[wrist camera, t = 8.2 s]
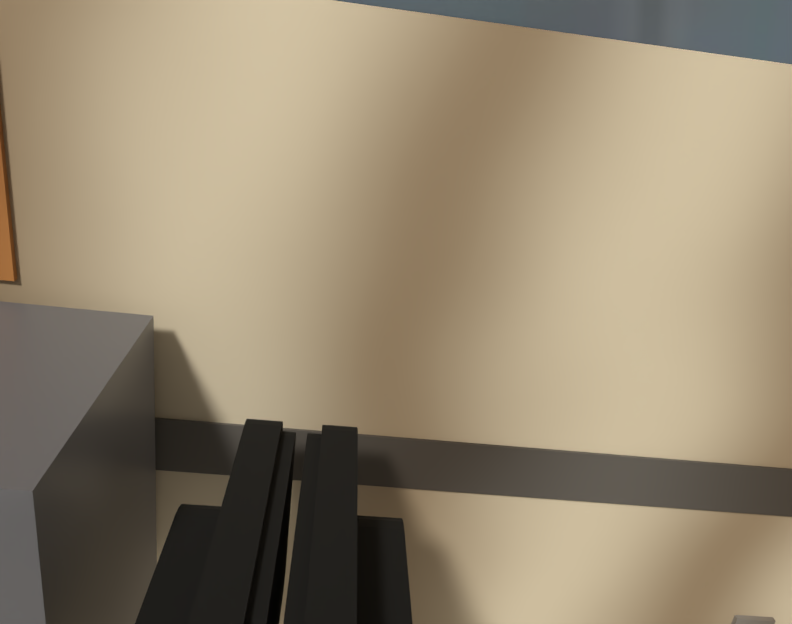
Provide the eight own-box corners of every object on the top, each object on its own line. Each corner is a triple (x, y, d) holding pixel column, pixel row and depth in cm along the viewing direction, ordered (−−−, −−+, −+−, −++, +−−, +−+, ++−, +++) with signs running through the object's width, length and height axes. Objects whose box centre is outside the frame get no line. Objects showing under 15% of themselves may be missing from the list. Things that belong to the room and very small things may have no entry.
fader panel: (1171, 120, 12) (1362, 144, 10) (868, 664, 18) (946, 763, 16) (-392, -99, 10) (-626, -134, 8) (-193, 608, 15) (-293, 716, 13)
